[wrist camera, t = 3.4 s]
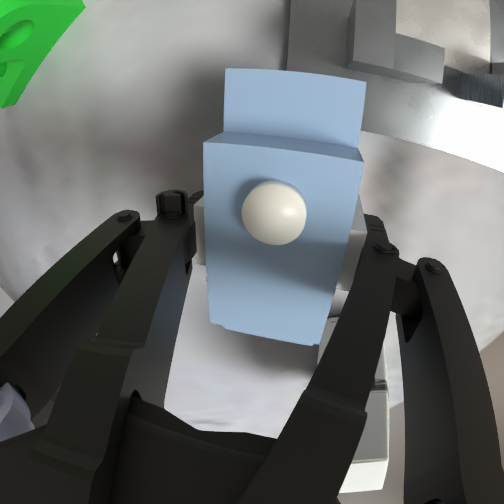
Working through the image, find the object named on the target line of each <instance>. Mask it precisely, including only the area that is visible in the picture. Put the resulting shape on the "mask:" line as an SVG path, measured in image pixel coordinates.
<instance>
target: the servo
mask: <svg viewBox="0 0 504 504" xmlns="http://www.w3.org/2000/svg"><path fill="white" fill-rule="evenodd" d="M365 92H366V82H364V81H358V80H353V79H347V78H341V77H335V76H328V75H321V74H313V73H305V72H295V71H283V70H268V69H241V68H225V93H224V129H223V132H222V133H220V134H218V135H216V136H214V137H212V138H210V139H208V140H206V141H204V142H203V180H204V220H205V247H206V268H207V287H208V303H209V318H210V323H213V324H218V325H222V326H224V329H228V330H233V331H237V332H242V333H246V334H251V335H256V336H261V337H265V338H271V339H276V340H281V341H286V342H292V343H297V344H303V345H309V346H313V344H318V345H319V343H320V340H321V337H322V334H323V331H324V327H325V324H326V321H327V317H328V314H329V311H330V307H331V304H332V300H333V297H334V293H335V290H336V286H337V282H338V279H339V275H340V271H341V267H342V263H343V259H344V255H345V251H346V247H347V243H348V239H349V235H350V230H351V226H352V221H353V217H354V212H355V207H356V203H357V198H358V193H359V188H360V182H361V177H362V172H363V166H364V161H363V158H362V156H361V154H360V152H359V150H358V145H359V139H360V132H361V124H362V117H363V109H364V101H365Z"/></svg>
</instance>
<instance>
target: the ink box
mask: <svg viewBox="0 0 504 504" xmlns="http://www.w3.org/2000/svg"><path fill="white" fill-rule="evenodd" d="M338 318H339V317H333V318H327V321H326V324H325V327H324V331H323V334H322V337H321V340H320V343H319V351H318V361H317V366H318V363H319V361H320V359H321V357H322V355H323V353H324V350H325V348H326V346H327V344H328V342H329V339H330V337H331V335H332V332H333V330H334V328H335V325H336V323H337V321H338ZM365 412H367V420H366V424H365V427H364V430H363V433H362V436H361V439H360V442H359V444H358V447H357V450H356V453H355V455H354V458H353V460H352V463H351V465H350V468H349V470H348V473H347V475H346V477H345V480H344V482H343V484H342V487H341V489H340V491H339V493H345V492H358V491H369V490H377V489H378V490H379V489H382V487H383V483H384V479H385V475H386V471H387V466H388V460H389V394H388V376H387V363H386V353H385V344H384V342H383V346H382V350H381V354H380V358H379V362H378V366H377V370H376V374H375V377H374V381H373V384H372V388H371V391H370V394H369V398H368V401H367V404H366V408H365Z"/></svg>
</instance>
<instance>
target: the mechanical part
mask: <svg viewBox="0 0 504 504" xmlns="http://www.w3.org/2000/svg"><path fill="white" fill-rule="evenodd" d="M85 8H86V7H85V5H84V4H83V2H82V0H0V107H1V109H2V108H5V107H8V106H11V105H14V104H16V102H17V101H18V99H19V97H20V95H21V94H22V92H23V90H24V89H25V87H26V85H27V84H28V82H29V81H30V79H31V77H32V76H33V74H34V73H35V71H36V70H37V68H38V67H39V65H40V64H41V62H42V61H43V60H44V58H45V57H46V55H47V54H48V53H49V51H50V50H51V48H52V47H53V46H54V45H55V43H56V42H57V41H58V39H59V38H60V37H61V35H62V34H63V33H64V32H65V31H66V29H67V28H68V27H69V26H70V25H71V23H72V22H73V21H74V20H75V19H76V18H77V16H78V15H79V14H80V13H81V12H82V11H83V10H84V9H85Z"/></svg>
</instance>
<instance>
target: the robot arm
mask: <svg viewBox="0 0 504 504" xmlns="http://www.w3.org/2000/svg"><path fill="white" fill-rule="evenodd" d="M156 205H157V214H158V215H157V216H156V218H155V220H152V221H140V215H139V213H138V212H137V211H133V210H123V211H121V212H118V213H116V214H114V215H112V216H111V217H110V218H109V219H107V220H106V221H105V222H104V223H102V224H101V225H100V226H99V227H97V228H96V229H95V230H94V231H92V232H91V233H90V234H89V235H88V236H86V237H85V238H84V239H83V240H82V241H80V242H79V243H78V244H77V245H76V246H75V247H73V248H72V249H71V250H70V251H69V252H68V253H67V254H65V255H64V256H63V257H62V258H61V259H60V260H59V261H58V262H56V263H55V264H54V265H53V266H52V267H51V268H50V269H49V270H48V271H47V272H46V273H44V274H43V275H42V276H41V277H40V278H39V279H38V280H37V281H36V282H35V283H34V284H33V285H32V286H31V287H30V288H29V289H28V290H27V291H26V292H25V293H24V294H23V295H22V296H21V297H20V298H19V299H18V300H17V301H16V302H15V303H14V304H13V305H12V306H11V307H10V308H9V309H8V310H7V311H6V312H5V314H4V315H3V316H2V317H1V318H0V504H341V503H340V502H339V500H338V498H337V496H338V493H339V491H340V489H341V487H342V484H343V482H344V480H345V477H346V475H347V473H348V470H349V468H350V465H351V463H352V460H353V458H354V455H355V453H356V450H357V447H358V444H359V442H360V439H361V436H362V433H363V430H364V427H365V424H366V420H367V412H365V408H366V404H367V401H368V398H369V394H370V391H371V388H372V384H373V381H374V377H375V374H376V370H377V366H378V362H379V358H380V354H381V350H382V346H383V342H384V338H385V333H386V329H387V324H388V319H389V314H390V311H392V312H395V313H396V323H397V331H398V338H399V346H400V355H401V365H402V377H403V390H404V409H405V473H404V504H504V471H503V468H502V465H501V455H500V447H499V440H498V433H497V427H496V421H495V415H494V410H493V406H492V400H491V396H490V392H489V387H488V383H487V379H486V375H485V372H484V368H483V365H482V361H481V358H480V354H479V351H478V348H477V345H476V342H475V339H474V336H473V333H472V330H471V327H470V324H469V321H468V319H467V316H466V313H465V311H464V308H463V305H462V303H461V300H460V298H459V295H458V293H457V291H456V288H455V286H454V283H453V281H452V279H451V277H450V274H449V272H448V270H447V269H446V267H445V266H444V265H443V264H442V263H441V262H440V261H437V260H436V259H432V258H426V257H423V258H420V259H419V260H418V262H417V265H413V264H411V263H408V262H406V261H404V260H402V259H400V258H399V250H398V249H397V248H396V247H395V246H394V245H392V244H391V243H389V240H388V237H387V233H386V230H385V227H384V224H383V222H382V221H381V220H380V219H379V218H378V217H377V216H373V215H368V214H363V210H362V205H361V201H360V197H359V193H358V198H357V203H356V207H355V212H354V217H353V221H352V226H351V230H350V235H349V239H348V243H347V247H346V251H345V255H344V259H343V263H342V267H341V271H340V275H339V279H338V282H337V286H336V289H338V290H344V291H349V294H348V296H347V299H346V301H345V304H344V306H343V309H342V311H341V314H340V316H339V318H338V321H337V323H336V325H335V328H334V330H333V332H332V335H331V337H330V339H329V342H328V344H327V346H326V348H325V350H324V353H323V355H322V357H321V359H320V361H319V363H318V366H317V368H316V370H315V372H314V374H313V376H312V378H311V380H310V382H309V384H308V386H307V388H306V390H304V391H303V393H302V395H301V397H300V399H299V400H298V402H297V404H296V406H295V408H294V410H293V412H292V414H291V415H290V417H289V419H288V421H287V423H286V425H285V426H284V428H283V430H282V432H281V433H280V435H279V437H278V439H275V438H270V437H265V436H260V435H255V434H251V433H246V432H214V431H201V430H197V429H195V428H194V427H192V426H190V425H189V424H187V423H185V422H184V421H182V420H180V419H179V418H177V417H176V416H174V415H173V414H171V413H170V412H168V411H166V410H165V409H164V399H165V393H166V388H167V383H168V377H169V372H170V367H171V362H172V357H173V352H174V347H175V342H176V338H177V333H178V328H179V324H180V319H181V315H182V310H183V306H184V301H185V297H186V293H187V288H188V284H189V280H190V276H191V272H192V258H193V256H194V255H195V254H196V258H197V264H200V265H206V247H205V220H204V191H203V190H201V191H199V192H197V193H194V194H193V195H192V196H191V197H190V198H189V199H188V194H187V193H186V192H184V191H181V190H168V191H164V192H161V193H159V194H158V195H156ZM115 252H116V253H117V258H118V261H117V262H116V263H114V262H113V255H114V254H115ZM97 333H98V334H97ZM96 334H97V336H96ZM95 336H96V338H94V337H95Z"/></svg>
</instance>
